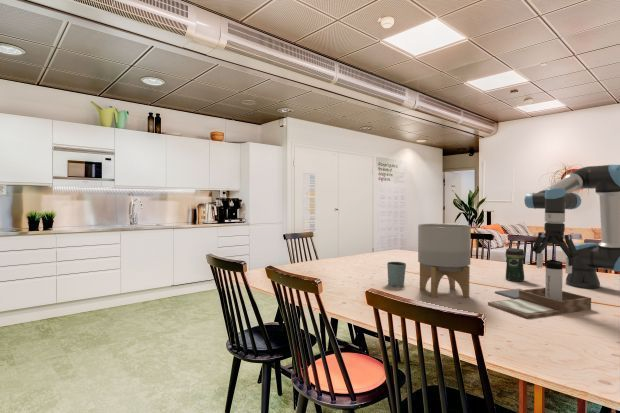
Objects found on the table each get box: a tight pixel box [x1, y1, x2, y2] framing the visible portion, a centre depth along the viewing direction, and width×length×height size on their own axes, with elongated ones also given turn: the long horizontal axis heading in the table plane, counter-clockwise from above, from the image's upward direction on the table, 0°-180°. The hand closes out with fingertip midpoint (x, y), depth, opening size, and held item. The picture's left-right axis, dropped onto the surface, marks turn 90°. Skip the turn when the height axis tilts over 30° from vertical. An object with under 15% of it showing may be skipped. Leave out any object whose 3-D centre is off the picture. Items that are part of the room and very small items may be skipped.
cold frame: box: [487, 287, 592, 320], centre depth 161 cm, size 36×20×5 cm, turn 109°
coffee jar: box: [504, 247, 525, 282], centre depth 214 cm, size 10×8×19 cm
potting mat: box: [494, 288, 523, 299], centre depth 182 cm, size 16×12×1 cm
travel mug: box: [544, 259, 564, 301], centre depth 164 cm, size 6×7×20 cm
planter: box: [417, 223, 472, 299], centre depth 186 cm, size 25×25×34 cm
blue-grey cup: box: [386, 261, 407, 287], centre depth 203 cm, size 10×10×12 cm
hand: (553, 270), depth 163 cm, fingers open, 13 cm apart
